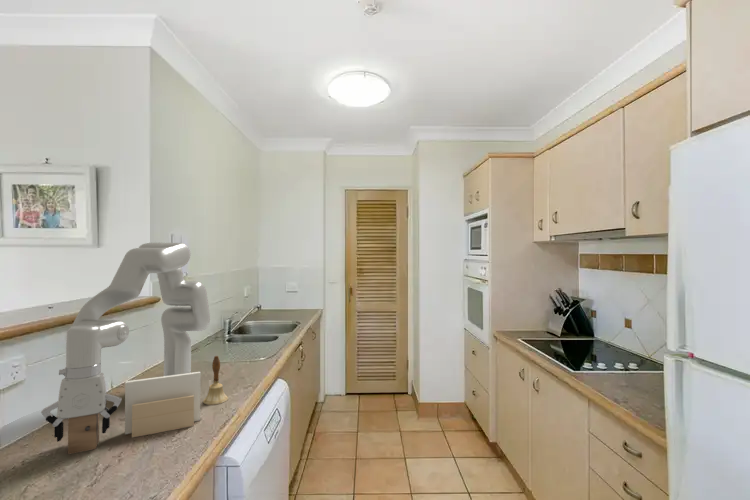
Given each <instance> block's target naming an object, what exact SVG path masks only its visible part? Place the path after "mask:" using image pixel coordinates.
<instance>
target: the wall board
mask: <svg viewBox="0 0 750 500" xmlns="http://www.w3.org/2000/svg"><path fill="white" fill-rule="evenodd" d="M124 394H125V395H124V435H129V434H131V438H137V437H142V436H149V435H153V434H158V433H163V432H169V431H174V430H178V429H183V428H184V429H185V428H189V427H194V424H195V422H199V421H201V371H194V372H193V371H192V372H191V373H186V374H178V375H170V376H164V375H163V376H156V377H149V378H140V379H134V380H133V379H132V380H126V381H125V384H124Z"/></svg>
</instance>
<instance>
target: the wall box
mask: <svg viewBox="0 0 750 500" xmlns="http://www.w3.org/2000/svg"><path fill="white" fill-rule="evenodd" d="M67 420H68V421H67V423H68V424H67V428H68V429H67V454H68V455H71V454H76V453H81V452H86V451H91V450H97V447H98V445H99V442H100V413H99V414H94V415H88V416H82V417H76V418H69V419H67Z"/></svg>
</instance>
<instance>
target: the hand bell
mask: <svg viewBox="0 0 750 500" xmlns="http://www.w3.org/2000/svg"><path fill="white" fill-rule="evenodd" d="M220 369H221V361H220V358H219V355H215V356H214V357H213V360H212V371H213V383H212V384H210V385H209V389H208V392H207V395H206V397H205V398H204V399H203V400H202V403H203V404H204V405H207V406H208V405H209V406H213V405H214V406H216V405H221V404H225V403H226V402H227V401H228V400H229V397H228V396H227V394H225V392H224V388H223V387H224V386H223V384H222V383H220V382H219V381H220V380H219V379H220V376H219V373H220Z"/></svg>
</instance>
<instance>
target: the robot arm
mask: <svg viewBox="0 0 750 500" xmlns="http://www.w3.org/2000/svg"><path fill="white" fill-rule="evenodd" d="M190 260H191V249H190V247H188V245H187V244H185V243H183V242H145V243H142V244H141V245H139V246H138V247H135V248H132V249H129V250H128V251H127V252H126V253H125V255H124V256H123V258H122V261H121V263H120V265H119V267H118V268H117V270H116V272H115V274H114V277H113V279H112V281H111V283H110V284H109V286H107V287H106V288H104V289H103V290H101V291H99V292H98V293H96V295H94V296H93V297H92V298H91V299H89V300H88V301H87V302H86V303H85V304H84V305H83V306H82V307H81V308H80V309H79V312H78V314H77V315H76V317H75V319H74V321H73V323H72V326H71V327H69V328H68V330H67V331H66V344H65V345H66V346H65V348H66V351H65V355H66V356H65V368H61V369H59V370H58V375H59V376H61V375H62V376H64V378H63V379H61V382H60V386H59V391H58V392H59V393H58V400H57V401H55V402H53V403H51V404H50V405H48V406H45V408H42V410H41V412H40V413H41V415H42V416H43V418H44V419H45V421H46V422H48V423H49V424H50V425H52V427H54V429H53V430H54V431H53V432H54V433H53V435H54V438H55V439H56V442H61V441H62V439H63V438H64V422H63V420H68V419H69V418H76V417H82V416H88V415H94V414H99V415H101V416H103V417H102V420H101V421H102V422H101V423H102V424H101V433H102V434H106V432H107V431H108V430H107V429H110V425H111V424H110V423H111V422H110V417H111V415H113V413H115V412H116V410H117V409H118V407H119V406H120V404H121V403H122V397H121V396H117V395H113V394H110V393H107V384H106V379H105V375H104V373H103V372H102V350H103V348H111V347H112V348H113V347H117V346H120V345H121V344H123V343H124V342H125V341H126V340H127V339H128V337H129V334H130V328H129V326H128V325H127V323H126V322H124V321H123V320H122V321H121V320H120V319H119V320H118V319H101V317H102V316H103V315H104V314H105V313H106V312H107V311H109V310H111V309H113V308H115V307H117V306H119V305H123V304H126V303H128V302H130V301H132V300H134V299H136V298H138V297H139V296H140V295H141V292H142V289H144V285H145V284H146V281H147V278H148V276H149V275H150V274H156V275H157V279H158V286H159V291H160V295H161V299H162V302H163V303H164V304H165V305H167V306H171V307H168V308H166V309H164V311H163V312H162V314H161V319H160V321H161V328H162V331H163V376H170V375H178V374H186V373H192V339H191V337H190V335H189V334H188V332H200V331H201V332H202V331H205V330H206V329H208V327H209V325H210V320H211V315H210V314H211V313H210V308H209V299H208V294H207V293H208V292H207V289H206V286H205V284H203V283H202V282H200V281H196V280H195V281H194V280H191V281H188V280H186V279H185V278H184V277H185V276H184V273H183V268H182V267H185V266H186V265H187V264H188V262H189V261H190ZM107 401H108V402H112V403H113V405H112V406H111V407H110V408H108V407H107V406H106V405H107ZM55 409H57V410H56V411H57V416H56V415H54V414H52V411H54V410H55Z"/></svg>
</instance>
